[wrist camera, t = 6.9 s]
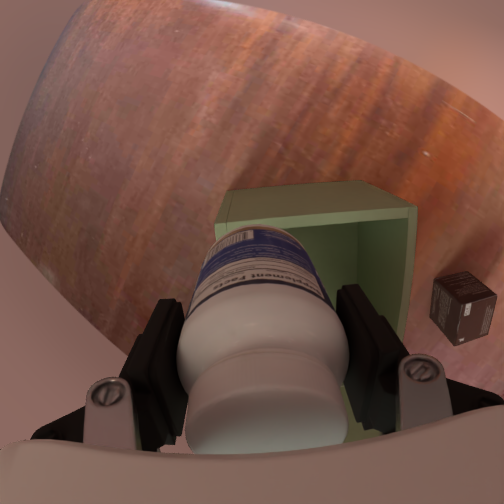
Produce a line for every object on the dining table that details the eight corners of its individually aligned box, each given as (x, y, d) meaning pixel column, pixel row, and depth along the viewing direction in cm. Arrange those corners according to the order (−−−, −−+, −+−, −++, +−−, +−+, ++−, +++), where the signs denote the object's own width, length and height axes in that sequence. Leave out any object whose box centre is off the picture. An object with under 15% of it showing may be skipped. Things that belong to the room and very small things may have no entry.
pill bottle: (295, 327, 17) (331, 488, 8) (196, 310, 16) (157, 474, 7) (324, 233, 15) (417, 369, 6) (212, 211, 14) (157, 339, 5)
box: (461, 308, 37) (488, 335, 31) (427, 317, 38) (453, 348, 31) (467, 269, 35) (498, 294, 28) (433, 277, 36) (462, 305, 29)
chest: (226, 191, 32) (213, 223, 20) (361, 180, 31) (418, 206, 20) (243, 322, 37) (242, 397, 26) (358, 309, 37) (395, 375, 25)
